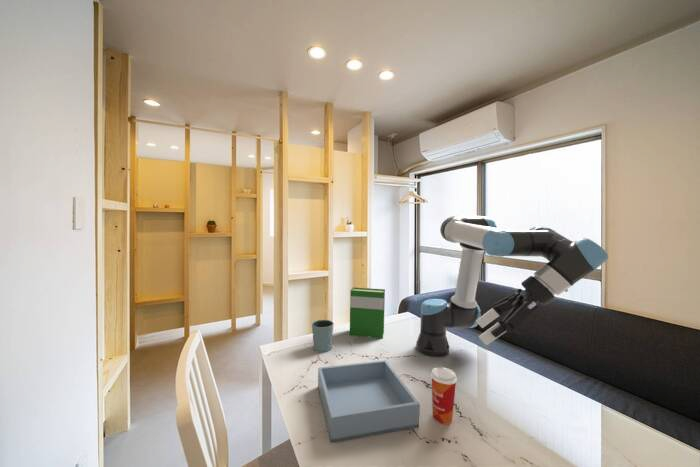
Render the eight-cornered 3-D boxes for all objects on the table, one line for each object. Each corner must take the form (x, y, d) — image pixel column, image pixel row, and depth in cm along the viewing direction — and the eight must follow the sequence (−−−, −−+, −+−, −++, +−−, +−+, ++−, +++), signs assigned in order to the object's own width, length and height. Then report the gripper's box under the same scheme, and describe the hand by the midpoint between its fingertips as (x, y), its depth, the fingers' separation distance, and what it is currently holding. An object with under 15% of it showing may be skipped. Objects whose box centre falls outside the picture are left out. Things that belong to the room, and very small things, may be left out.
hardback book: (383, 332, 148) (384, 289, 148) (382, 338, 141) (384, 292, 140) (352, 330, 152) (352, 287, 151) (349, 335, 144) (350, 290, 144)
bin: (385, 378, 104) (386, 360, 104) (419, 427, 79) (419, 403, 79) (318, 386, 98) (318, 367, 97) (330, 443, 73) (331, 417, 72)
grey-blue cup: (337, 347, 130) (337, 322, 129) (324, 355, 121) (324, 328, 121) (320, 342, 135) (320, 318, 135) (306, 349, 127) (307, 324, 126)
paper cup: (425, 409, 87) (426, 366, 86) (448, 408, 87) (450, 365, 87) (435, 427, 79) (436, 380, 78) (460, 426, 80) (462, 379, 79)
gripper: (574, 309, 60) (496, 362, 66) (542, 287, 83) (486, 328, 89) (546, 283, 62) (472, 337, 68) (522, 268, 85) (469, 310, 91)
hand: (480, 332), depth 79 cm, fingers open, 13 cm apart
